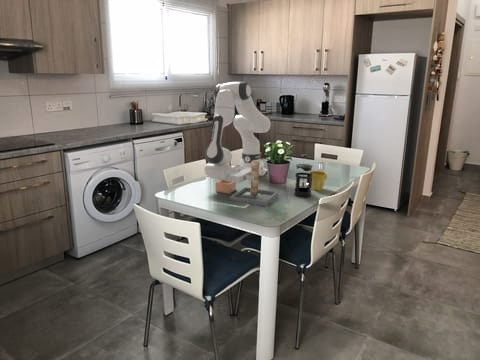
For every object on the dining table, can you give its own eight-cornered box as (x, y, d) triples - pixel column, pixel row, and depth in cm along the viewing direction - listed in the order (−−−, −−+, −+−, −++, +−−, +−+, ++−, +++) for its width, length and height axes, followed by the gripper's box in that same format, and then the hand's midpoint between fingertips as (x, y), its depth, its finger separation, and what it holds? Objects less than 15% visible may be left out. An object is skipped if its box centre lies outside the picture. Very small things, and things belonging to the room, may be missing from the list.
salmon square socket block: (222, 188, 229) (222, 178, 228) (235, 190, 226) (235, 180, 224) (215, 192, 222) (215, 182, 220) (229, 194, 219) (229, 184, 217)
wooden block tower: (252, 193, 215) (253, 160, 210) (259, 194, 213) (260, 161, 209) (249, 195, 211) (250, 162, 207) (256, 196, 210) (257, 163, 205)
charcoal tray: (244, 191, 226) (244, 186, 225) (277, 196, 218) (278, 191, 217) (229, 201, 208) (229, 196, 207) (265, 206, 200) (265, 202, 200)
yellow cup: (323, 186, 238) (324, 170, 236) (327, 191, 228) (329, 175, 226) (306, 186, 238) (307, 170, 235) (309, 191, 228) (311, 174, 225)
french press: (302, 199, 213) (305, 157, 207) (289, 195, 220) (291, 154, 214) (316, 195, 221) (319, 154, 215) (303, 191, 228) (305, 151, 222)
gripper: (224, 172, 205) (249, 175, 199) (240, 164, 223) (263, 167, 217) (224, 183, 206) (248, 187, 201) (240, 175, 224) (262, 178, 219)
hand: (256, 176), depth 209 cm, fingers closed on wooden block tower, 4 cm apart
